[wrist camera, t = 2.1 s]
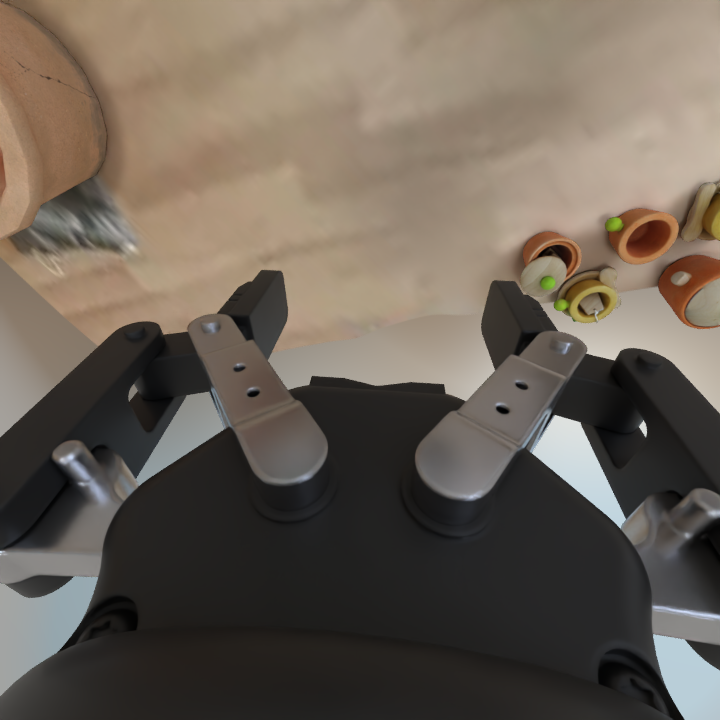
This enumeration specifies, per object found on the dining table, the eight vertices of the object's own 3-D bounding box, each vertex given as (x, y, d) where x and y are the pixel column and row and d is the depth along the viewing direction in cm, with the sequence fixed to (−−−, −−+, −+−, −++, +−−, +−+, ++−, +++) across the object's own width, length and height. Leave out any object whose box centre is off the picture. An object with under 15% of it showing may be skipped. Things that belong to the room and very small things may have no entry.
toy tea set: (780, 158, 35) (882, 177, 28) (730, 292, 44) (796, 334, 37) (509, 223, 42) (532, 253, 34) (512, 329, 51) (531, 371, 43)
